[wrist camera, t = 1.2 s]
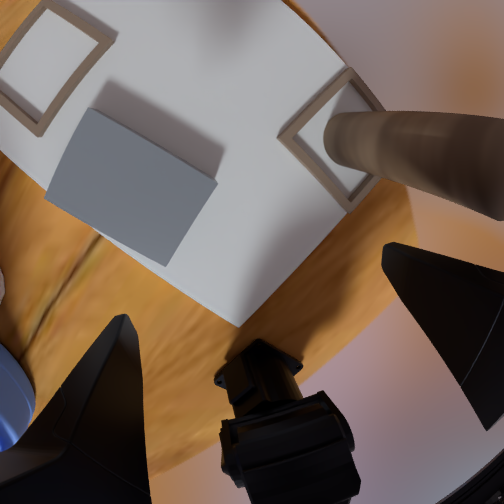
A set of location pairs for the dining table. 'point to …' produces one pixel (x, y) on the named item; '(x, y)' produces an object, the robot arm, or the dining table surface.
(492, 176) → the pin
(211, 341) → the dining table surface
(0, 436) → the water jug
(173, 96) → the board
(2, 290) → the white cup
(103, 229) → the cover
